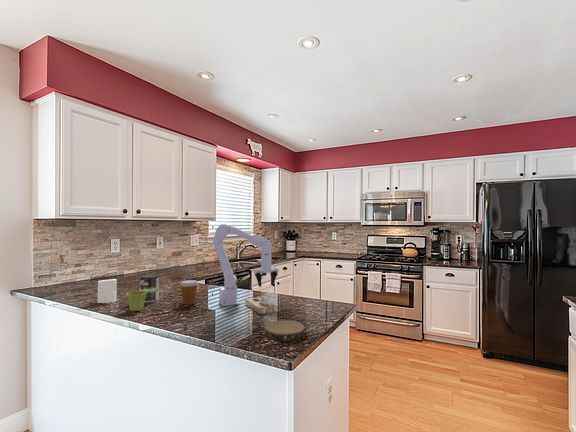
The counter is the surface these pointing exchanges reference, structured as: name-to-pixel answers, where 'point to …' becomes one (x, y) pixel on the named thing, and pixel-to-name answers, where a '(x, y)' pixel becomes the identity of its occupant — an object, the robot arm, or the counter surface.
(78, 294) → the counter surface
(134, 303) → the plant pot
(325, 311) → the counter surface
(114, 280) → the white rectangular block
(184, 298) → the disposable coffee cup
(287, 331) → the round tan disc
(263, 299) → the steel bracket tab
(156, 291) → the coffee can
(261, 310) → the slotted wooden frame
